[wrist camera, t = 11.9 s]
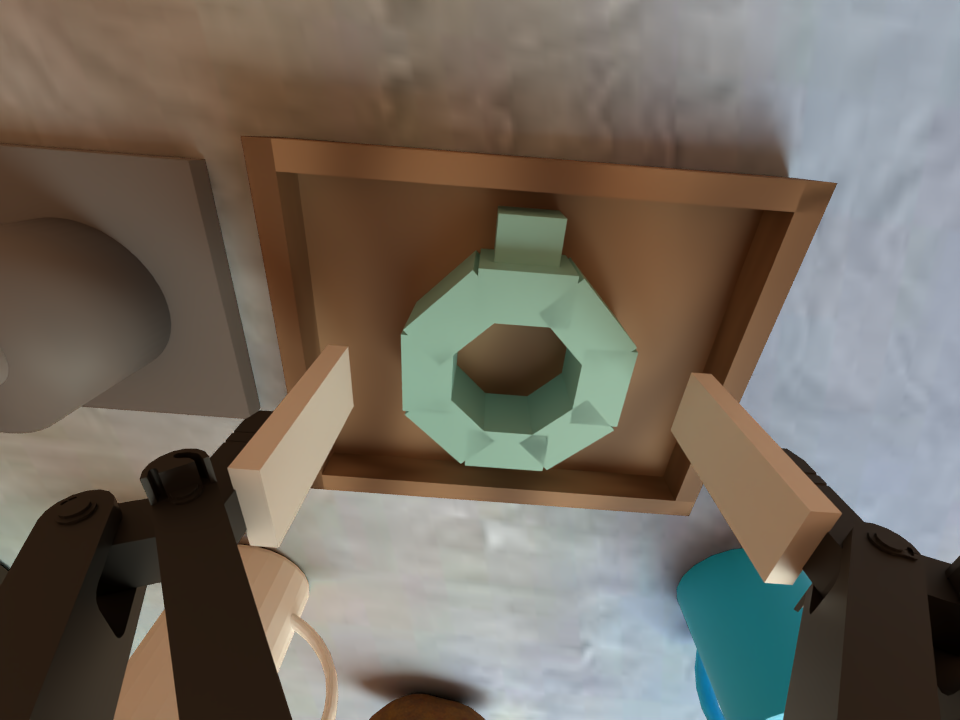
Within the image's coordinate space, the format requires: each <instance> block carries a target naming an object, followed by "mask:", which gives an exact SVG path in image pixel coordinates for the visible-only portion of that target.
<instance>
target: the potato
mask: <svg viewBox="0 0 960 720" xmlns="http://www.w3.org/2000/svg"><path fill="white" fill-rule="evenodd" d="M369 720H485V719H484V718H483V717H482V716H481V715H480V714H478V713H477V712H476V711H474V710H473V709H472V708H470V707H469V706H466V705H464V704H462V703H459V702H456V701H451V700H446V699H442V698H439V697H435V696H431V695H427V694H411V695H407V696H403V697H401V698H398V699H396V700H394V701H392V702H390V703H389V704H387V705H386V706H384V707H383V708H382V709H380V710H379V711H378V712H377V713H375V714H374V715H373V716H372V717H371V718H370V719H369Z"/></svg>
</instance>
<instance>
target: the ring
mask: <svg viewBox="0 0 960 720" xmlns="http://www.w3.org/2000/svg"><path fill="white" fill-rule="evenodd" d="M566 224H567V218H566V217H565V216H564V215H563V214H562V213H561V212H560V211H559V210H546V209H533V208H521V207H508V206H498V212H497V224H496V235H495V247H494V249H481V252H480V254H479V253H478V252H477V251H474V252H473V253H472V254H471V255H470V256H469V257H468V258H466V259H465V260H464V261H463V262H462V263H461V264H460V265H458V266H457V267H456V268H455V269H454V270H453V271H452V272H450V273H449V274H448V275H447V276H446V277H445V278H444V279H442V280H441V281H440V282H439V283H438V284H437V285H436V286H434V287H433V288H432V289H431V290H430V291H429V292H428V293H426V294H425V295H424V296H423V297H422V298H421V299H420V300H418V301H417V302H416V304H415V306H414V308H413V310H412V312H411V314H410V316H409V318H408V320H407V323H406V325H405V327H404V329H403V331H402V333H401V363H402V404H403V411H406V412H405V415H406V416H407V417H408V418H409V419H410V420H411V421H412V422H414V423H415V424H416V425H417V426H418V427H419V428H420V429H422V430H423V431H424V432H425V433H426V434H427V435H428V436H430V437H431V438H432V439H433V440H434V441H435V442H436V443H438V444H439V445H440V446H441V447H442V448H443V449H444V450H446V451H447V452H448V453H449V454H450V455H451V456H452V457H454V458H455V459H456V460H457V461H458V462H459V463H460V464H461V463H463V462H464V461H465V465H466V466H479V467H493V468H506V469H520V470H533V471H543V467H544V468H545V469H546V470H548V469H550V468H551V467H553V466H555V465H557V464H558V463H560V462H562V461H563V460H565V459H567V458H568V457H570V456H572V455H573V454H575V453H577V452H578V451H580V450H582V449H584V448H585V447H587V446H589V445H590V444H592V443H594V442H595V441H597V440H599V439H600V438H602V437H604V436H605V435H607V434H609V433H611V432H612V431H614V429H613V427H617V425H618V422H619V418H620V415H621V411H622V408H623V404H624V401H625V397H626V394H627V390H628V387H629V383H630V380H631V376H632V373H633V369H634V366H635V362H636V359H637V355H638V352H637V350H636V349H637V347H636V345H635V344H634V342H633V341H632V340H631V338H630V337H629V335H628V334H627V332H626V331H625V329H624V328H623V327H622V325H621V324H620V322H619V321H618V319H617V318H616V317H615V315H614V314H613V313H612V311H611V310H610V309H609V308H608V306H607V305H606V304H605V302H604V301H603V300H602V298H601V297H600V296H599V294H598V293H597V292H596V290H595V289H594V288H593V287H592V285H591V284H590V283H589V281H588V280H587V279H586V277H585V276H584V275H583V273H582V272H581V271H580V270H579V268H578V267H577V266H576V264H575V263H574V262H573V260H572V259H571V258H569V259H568V258H567V256H566V255H561V254H562V248H563V242H564V236H565V230H566ZM494 323H497V324H510V325H523V326H536V327H549V328H551V329H552V330H553V332H554V333H555V334H556V335H557V336H558V337H559V339H560V340H561V341H562V342H563V343H564V345H565V346H566V347H567V348H566V353H565V359H564V364H563V369H562V373H561V374H559V375H558V376H556V377H555V378H553V379H552V380H550V381H549V382H548V383H546V384H545V385H543V386H542V387H540V388H539V389H537V390H536V391H534V392H533V393H531V394H530V395H528V396H517V395H504V394H491V393H485V392H484V391H483V390H482V389H481V388H480V387H479V386H478V385H477V384H476V383H475V382H474V381H473V380H472V379H471V378H470V377H469V376H468V375H467V374H466V373H465V372H464V371H463V370H462V369H461V368H460V367H459V366H458V365H457V353H458V351H459V350H461V349H462V348H463V347H464V346H466V345H467V344H468V343H470V342H471V341H472V340H473V339H475V338H476V337H477V336H478V335H480V334H481V333H482V332H484V331H485V330H486V329H487V328H489V327H490V326H491V325H493V324H494Z"/></svg>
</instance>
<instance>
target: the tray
mask: <svg viewBox="0 0 960 720" xmlns="http://www.w3.org/2000/svg"><path fill="white" fill-rule="evenodd" d="M241 140H242V146H243V151H244V157H245V162H246V168H247V173H248V179H249V184H250V190H251V195H252V201H253V206H254V212H255V217H256V223H257V228H258V234H259V239H260V245H261V250H262V256H263V261H264V267H265V272H266V278H267V283H268V289H269V294H270V300H271V305H272V311H273V316H274V322H275V327H276V333H277V338H278V344H279V349H280V355H281V360H282V366H283V371H284V377H285V382H286V388H287V393H289V392H290V391H291V390H292V388H293V387H294V386H295V385H296V383H297V382H298V381H299V380H300V379H301V377H302V376H303V375H304V374H305V372H306V371H307V370H308V369H309V368H310V366H311V365H312V364H313V363H314V361H315V360H316V359H317V358H318V357H319V355H320V354H321V353H322V352H323V350H324V349H325V348H326V347H327V346H328V345H335V346H348V350H349V361H350V372H351V383H352V394H353V404H354V407H353V409H352V410H351V412H350V414H349V416H348V418H347V420H346V422H345V424H344V426H343V427H342V429H341V431H340V433H339V435H338V437H337V439H336V441H335V443H334V444H333V446H332V448H331V450H330V452H329V454H328V456H327V458H326V460H325V461H324V463H323V465H322V467H321V469H320V471H319V473H318V475H317V477H316V478H315V480H314V482H313V484H312V486H311V488H313V489H327V490H340V491H354V492H368V493H381V494H395V495H408V496H422V497H436V498H449V499H463V500H477V501H490V502H504V503H517V504H531V505H545V506H558V507H572V508H585V509H599V510H613V511H626V512H640V513H654V514H667V515H681V516H689V515H690V512H691V510H692V508H693V506H694V503H695V501H696V499H697V497H698V494H699V492H700V490H701V488H702V485H703V482H702V481H701V479H700V477H699V476H698V474H697V472H696V471H695V469H694V468H693V466H692V464H691V463H690V461H689V459H688V458H687V456H686V454H685V453H684V451H683V450H682V448H681V446H680V445H679V443H678V441H677V440H676V438H675V437H674V435H673V433H672V432H671V427H672V425H673V422H674V419H675V416H676V414H677V411H678V408H679V405H680V403H681V400H682V397H683V394H684V392H685V389H686V386H687V383H688V381H689V378H690V375H691V373H705V374H712V375H713V376H714V377H715V378H716V379H717V381H718V382H719V383H720V384H721V385H722V386H723V387H724V388H725V389H726V390H727V391H728V392H729V393H730V394H731V395H732V397H733V398H734V399H735V400H736V401H737V402H738V403H739V402H740V400H741V398H742V396H743V393H744V391H745V389H746V387H747V384H748V382H749V380H750V378H751V375H752V373H753V371H754V369H755V367H756V364H757V362H758V360H759V358H760V355H761V353H762V351H763V349H764V346H765V344H766V342H767V340H768V337H769V335H770V333H771V331H772V328H773V326H774V324H775V322H776V319H777V317H778V315H779V313H780V310H781V308H782V306H783V304H784V301H785V299H786V297H787V295H788V293H789V290H790V288H791V286H792V284H793V281H794V279H795V277H796V275H797V272H798V270H799V268H800V266H801V263H802V261H803V259H804V257H805V254H806V252H807V250H808V248H809V245H810V243H811V241H812V239H813V236H814V234H815V232H816V230H817V228H818V225H819V223H820V221H821V219H822V216H823V214H824V212H825V210H826V207H827V205H828V203H829V201H830V198H831V196H832V194H833V192H834V189H835V187H836V185H837V183H831V182H823V181H814V180H806V179H798V178H789V177H777V176H764V175H751V174H739V173H726V172H713V171H701V170H688V169H676V168H663V167H650V166H638V165H625V164H612V163H600V162H587V161H575V160H562V159H549V158H537V157H524V156H511V155H499V154H486V153H474V152H461V151H448V150H436V149H423V148H410V147H398V146H385V145H373V144H360V143H347V142H335V141H322V140H309V139H297V138H284V137H261V136H241ZM498 206H508V207H521V208H533V209H546V210H559V211H560V212H561V213H562V214H563V215H564V216H565V217H566V218H567V224H566V230H565V236H564V242H563V248H562V254H561V255H566V256H567V258H568V259H569V258H571V259H572V260H573V262H574V263H575V264H576V266H577V267H578V268H579V270H580V271H581V272H582V273H583V275H584V276H585V277H586V279H587V280H588V281H589V283H590V284H591V285H592V287H593V288H594V289H595V290H596V292H597V293H598V294H599V296H600V297H601V298H602V300H603V301H604V302H605V304H606V305H607V306H608V308H609V309H610V310H611V311H612V313H613V314H614V315H615V317H616V318H617V319H618V321H619V322H620V324H621V325H622V327H623V328H624V329H625V331H626V332H627V334H628V335H629V337H630V338H631V340H632V341H633V342H634V344H635V345H636V347H637V349H636V350H637V352H638V355H637V359H636V362H635V366H634V369H633V373H632V376H631V380H630V383H629V387H628V390H627V394H626V397H625V401H624V404H623V408H622V411H621V415H620V418H619V422H618V425H617V427H613V429H614V431H612V432H611V433H609V434H607V435H605V436H604V437H602V438H600V439H599V440H597V441H595V442H594V443H592V444H590V445H589V446H587V447H585V448H584V449H582V450H580V451H578V452H577V453H575V454H573V455H572V456H570V457H568V458H567V459H565V460H563V461H562V462H560V463H558V464H557V465H555V466H553V467H551V468H550V469H548V470H546V469H545V468H544V467H543V471H533V470H520V469H506V468H493V467H479V466H466V465H465V461H464V462H463V463H461V464H460V463H459V462H458V461H457V460H456V459H455V458H454V457H452V456H451V455H450V454H449V453H448V452H447V451H446V450H444V449H443V448H442V447H441V446H440V445H439V444H438V443H436V442H435V441H434V440H433V439H432V438H431V437H430V436H428V435H427V434H426V433H425V432H424V431H423V430H422V429H420V428H419V427H418V426H417V425H416V424H415V423H414V422H412V421H411V420H410V419H409V418H408V417H407V416H406V415H405V412H406V411H403V404H402V363H401V333H402V331H403V329H404V327H405V325H406V323H407V320H408V318H409V316H410V314H411V312H412V310H413V308H414V306H415V304H416V302H417V301H418V300H420V299H421V298H422V297H423V296H424V295H425V294H426V293H428V292H429V291H430V290H431V289H432V288H433V287H434V286H436V285H437V284H438V283H439V282H440V281H441V280H442V279H444V278H445V277H446V276H447V275H448V274H449V273H450V272H452V271H453V270H454V269H455V268H456V267H457V266H458V265H460V264H461V263H462V262H463V261H464V260H465V259H466V258H468V257H469V256H470V255H471V254H472V253H473V252H474V251H477V252H478V253H479V254H480V252H481V249H494V247H495V235H496V224H497V212H498ZM566 348H567V347H566V346H565V345H564V343H563V342H562V341H561V340H560V339H559V337H558V336H557V335H556V334H555V333H554V332H553V330H552V329H551V328H549V327H536V326H523V325H510V324H497V323H494V324H493V325H491V326H490V327H489V328H487V329H486V330H485V331H484V332H482V333H481V334H480V335H478V336H477V337H476V338H475V339H473V340H472V341H471V342H470V343H468V344H467V345H466V346H464V347H463V348H462V349H461V350H459V351H458V353H457V365H458V366H459V367H460V368H461V369H462V370H463V371H464V372H465V373H466V374H467V375H468V376H469V377H470V378H471V379H472V380H473V381H474V382H475V383H476V384H477V385H478V386H479V387H480V388H481V389H482V390H483V391H484V392H485V393H491V394H504V395H517V396H528V395H530V394H531V393H533V392H534V391H536V390H537V389H539V388H540V387H542V386H543V385H545V384H546V383H548V382H549V381H550V380H552V379H553V378H555V377H556V376H558V375H559V374H561V373H562V369H563V364H564V359H565V353H566Z"/></svg>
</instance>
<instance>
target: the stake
mask: <svg viewBox="0 0 960 720" xmlns="http://www.w3.org/2000/svg"><path fill="white" fill-rule="evenodd" d="M80 407H93V408H107V409H120V410H134V411H147V412H160V413H174V414H187V415H201V416H214V417H228V418H241V419H246V418H248V417H250V416H251V415H253V414H255V413H256V412H257V411H258V410H259V409H260V404H259V399H258V395H257V390H256V386H255V382H254V377H253V373H252V368H251V364H250V359H249V355H248V350H247V346H246V341H245V337H244V332H243V328H242V323H241V319H240V315H239V310H238V306H237V301H236V297H235V292H234V288H233V283H232V279H231V274H230V270H229V265H228V261H227V256H226V252H225V248H224V243H223V239H222V234H221V230H220V225H219V221H218V216H217V212H216V207H215V203H214V198H213V194H212V189H211V185H210V181H209V176H208V172H207V167H206V163H205V159H192V158H179V157H167V156H154V155H141V154H129V153H116V152H103V151H91V150H78V149H65V148H52V147H40V146H27V145H14V144H2V143H0V432H4V433H29V432H35V431H39V430H43V429H45V428H47V427H50V426H51V425H53V424H55V423H56V422H58V421H59V420H61V419H62V418H64V417H65V416H67V415H69V414H70V413H72V412H73V411H75V410H76V409H78V408H80Z"/></svg>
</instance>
